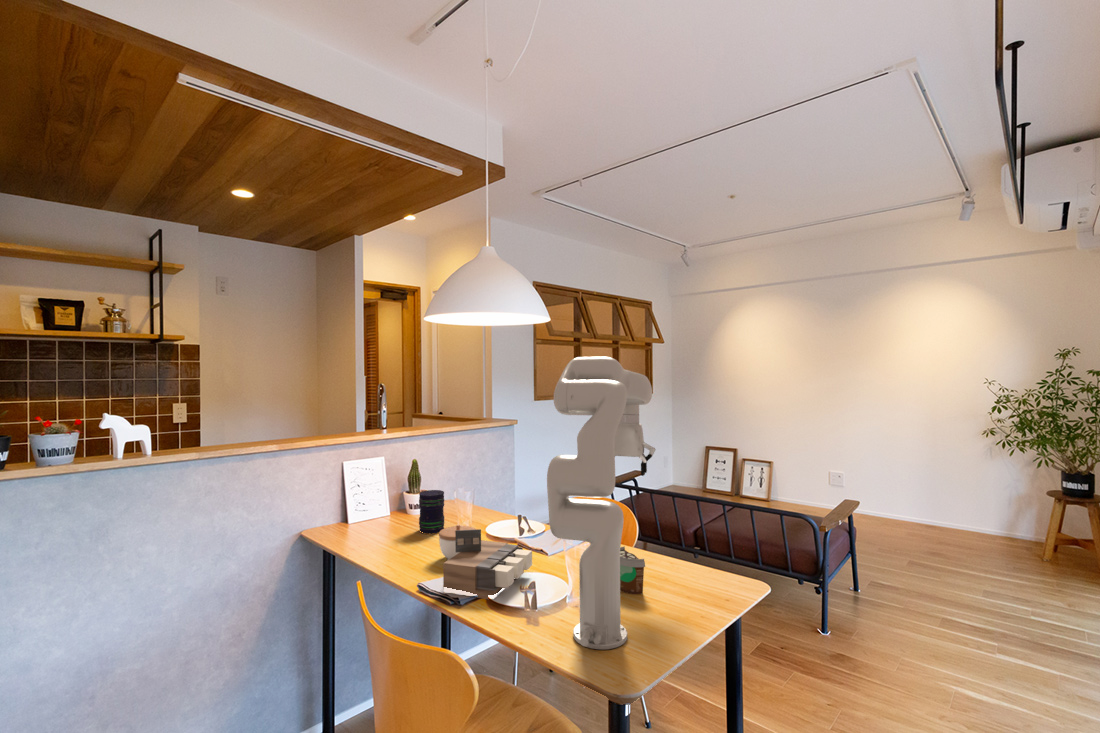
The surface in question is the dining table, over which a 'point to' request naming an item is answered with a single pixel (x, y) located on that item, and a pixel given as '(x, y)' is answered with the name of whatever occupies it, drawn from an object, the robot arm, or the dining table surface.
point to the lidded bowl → (450, 540)
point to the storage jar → (431, 511)
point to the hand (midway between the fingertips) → (627, 474)
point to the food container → (631, 572)
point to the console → (475, 563)
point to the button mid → (515, 565)
